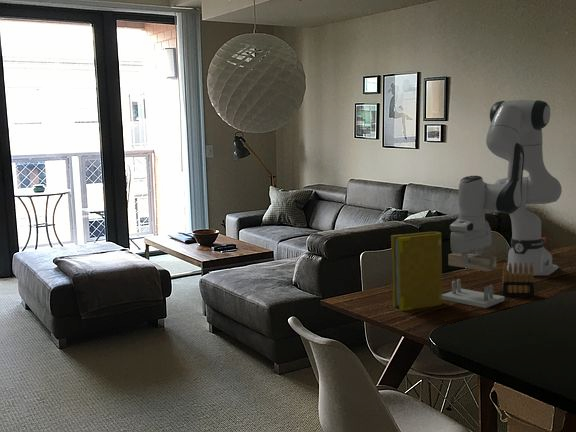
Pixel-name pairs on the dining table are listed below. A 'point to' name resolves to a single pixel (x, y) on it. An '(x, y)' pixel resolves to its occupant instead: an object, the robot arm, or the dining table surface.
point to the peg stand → (472, 296)
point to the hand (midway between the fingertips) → (472, 262)
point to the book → (417, 270)
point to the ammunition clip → (518, 281)
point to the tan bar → (473, 261)
